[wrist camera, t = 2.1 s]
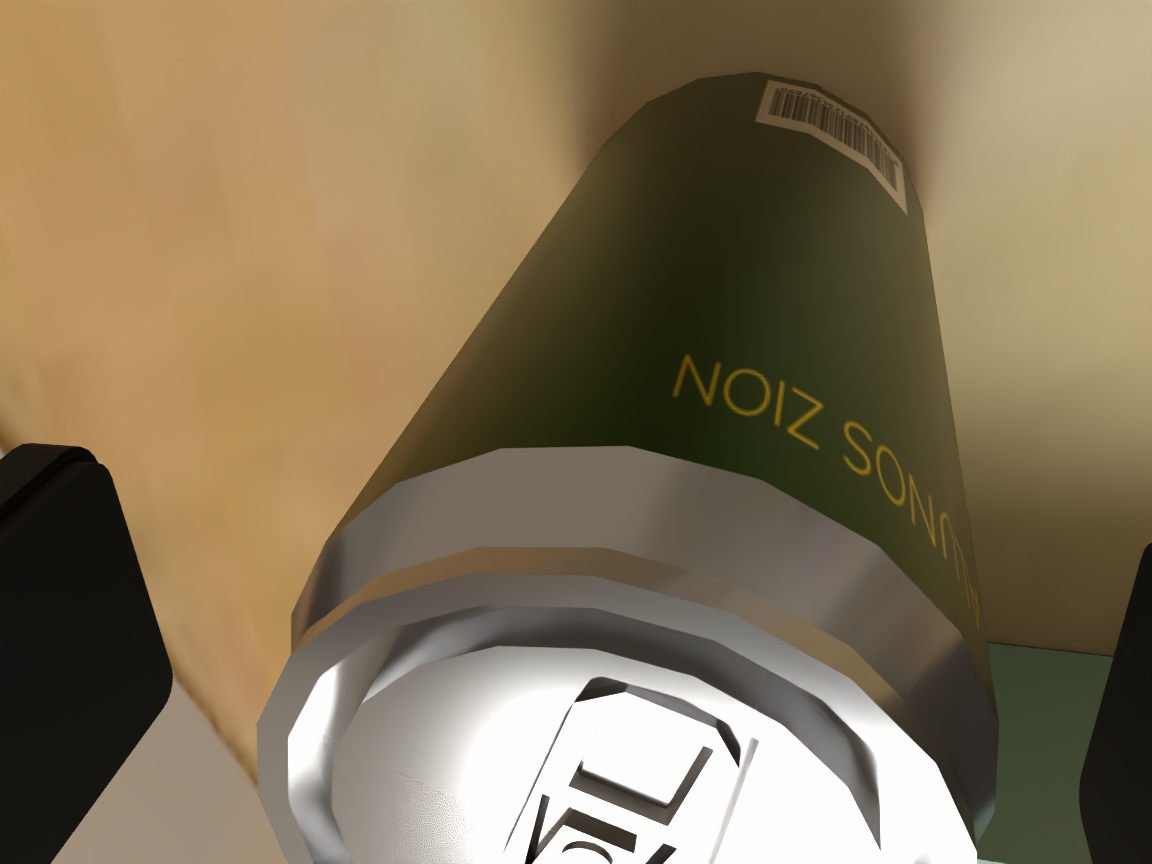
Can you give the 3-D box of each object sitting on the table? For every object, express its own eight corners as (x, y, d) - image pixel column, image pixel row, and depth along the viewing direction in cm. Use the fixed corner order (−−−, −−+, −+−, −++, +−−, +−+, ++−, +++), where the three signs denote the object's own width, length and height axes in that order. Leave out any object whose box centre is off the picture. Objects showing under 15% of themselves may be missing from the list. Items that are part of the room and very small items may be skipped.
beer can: (648, 6, 16) (281, 396, 6) (988, 138, 16) (1219, 771, 6) (545, 311, 19) (187, 918, 9) (830, 424, 19) (799, 1169, 9)
